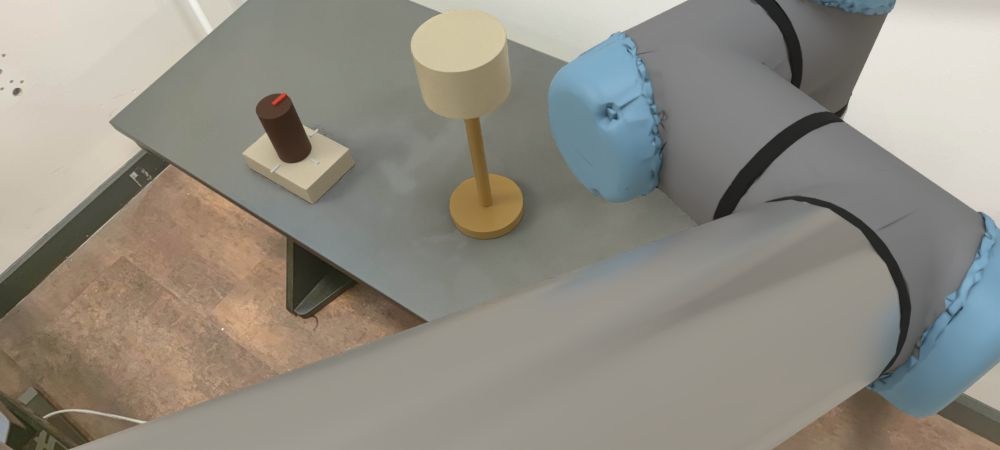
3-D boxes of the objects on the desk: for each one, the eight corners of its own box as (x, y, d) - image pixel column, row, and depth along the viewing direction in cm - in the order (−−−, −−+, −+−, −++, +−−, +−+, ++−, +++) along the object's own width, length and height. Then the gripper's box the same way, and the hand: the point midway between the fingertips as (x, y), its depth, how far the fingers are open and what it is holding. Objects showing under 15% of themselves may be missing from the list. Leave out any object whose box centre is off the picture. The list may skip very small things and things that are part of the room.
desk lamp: (495, 251, 82) (467, 84, 61) (436, 219, 86) (390, 51, 65) (538, 199, 86) (525, 27, 65) (479, 171, 90) (449, -1, 69)
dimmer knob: (294, 168, 89) (271, 121, 82) (271, 155, 90) (246, 108, 84) (318, 146, 91) (298, 99, 84) (295, 133, 92) (273, 86, 86)
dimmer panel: (311, 206, 89) (303, 190, 86) (248, 169, 94) (239, 153, 91) (356, 162, 93) (350, 146, 90) (294, 129, 97) (286, 113, 95)
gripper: (753, 62, 51) (703, 248, 69) (669, 180, 45) (639, 348, 63) (859, 99, 48) (777, 283, 66) (783, 230, 42) (717, 391, 60)
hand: (710, 315), depth 65 cm, fingers closed
